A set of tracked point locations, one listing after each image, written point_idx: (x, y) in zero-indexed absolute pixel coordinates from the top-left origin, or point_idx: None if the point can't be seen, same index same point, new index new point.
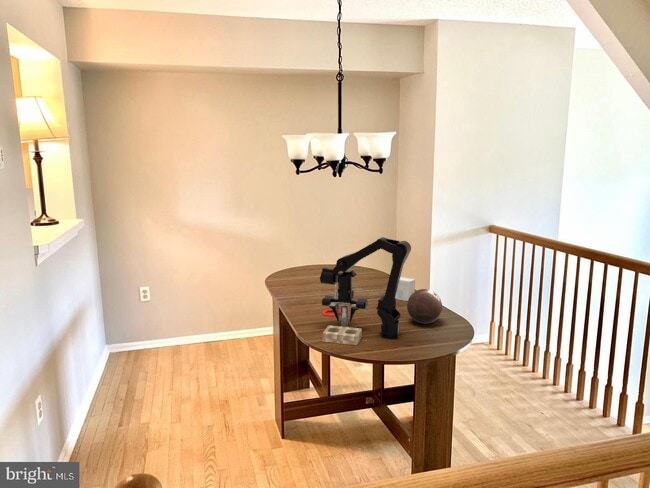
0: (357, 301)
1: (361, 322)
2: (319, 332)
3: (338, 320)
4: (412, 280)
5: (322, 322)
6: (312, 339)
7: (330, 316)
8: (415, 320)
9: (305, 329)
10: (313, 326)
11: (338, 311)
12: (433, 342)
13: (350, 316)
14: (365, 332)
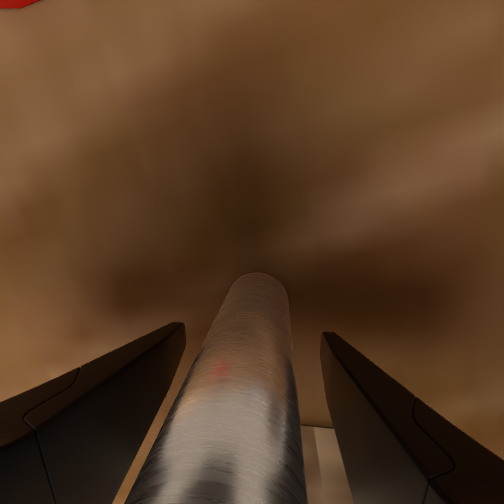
0: None
1: (407, 93)
2: None
3: (182, 354)
4: None
5: (39, 209)
6: (119, 494)
7: (24, 2)
8: None
9: (7, 370)
10: (23, 310)
11: (99, 408)
12: None
13: (352, 476)
14: (454, 355)
